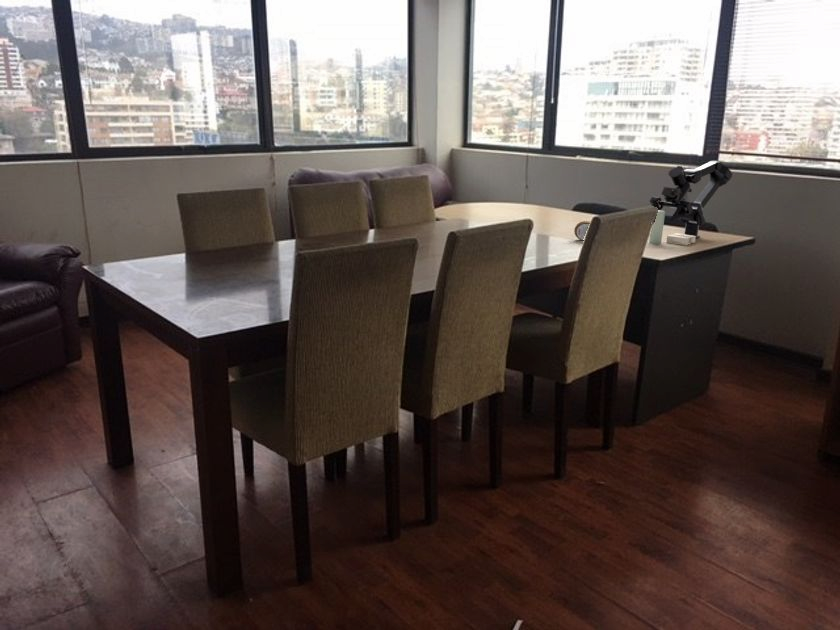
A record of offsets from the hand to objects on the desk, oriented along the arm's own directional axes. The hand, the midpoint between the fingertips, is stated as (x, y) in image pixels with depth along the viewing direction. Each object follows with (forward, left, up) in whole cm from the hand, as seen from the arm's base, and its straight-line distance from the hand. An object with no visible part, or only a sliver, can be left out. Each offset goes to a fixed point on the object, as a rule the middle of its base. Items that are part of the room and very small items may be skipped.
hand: (661, 219), depth 299 cm
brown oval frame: (+20, -21, -10) cm, 31 cm away
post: (+2, 0, -10) cm, 10 cm away
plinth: (-8, +7, -10) cm, 14 cm away
